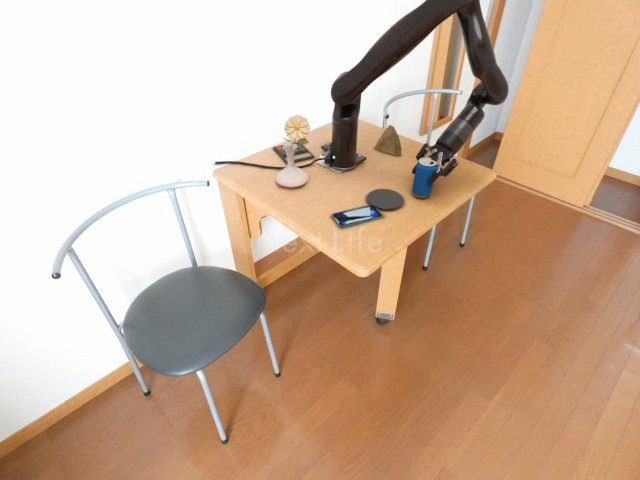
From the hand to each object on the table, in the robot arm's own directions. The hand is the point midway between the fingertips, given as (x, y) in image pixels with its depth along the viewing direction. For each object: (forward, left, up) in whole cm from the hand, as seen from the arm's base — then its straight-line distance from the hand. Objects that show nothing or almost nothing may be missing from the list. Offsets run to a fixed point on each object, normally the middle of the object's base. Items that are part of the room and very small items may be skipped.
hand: (420, 178), depth 120 cm
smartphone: (-16, -17, -8) cm, 25 cm away
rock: (-16, +30, -7) cm, 35 cm away
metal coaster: (-10, -6, -7) cm, 14 cm away
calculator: (-52, +16, -7) cm, 55 cm away
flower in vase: (-43, -5, -7) cm, 44 cm away
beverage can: (+1, +1, -7) cm, 7 cm away
